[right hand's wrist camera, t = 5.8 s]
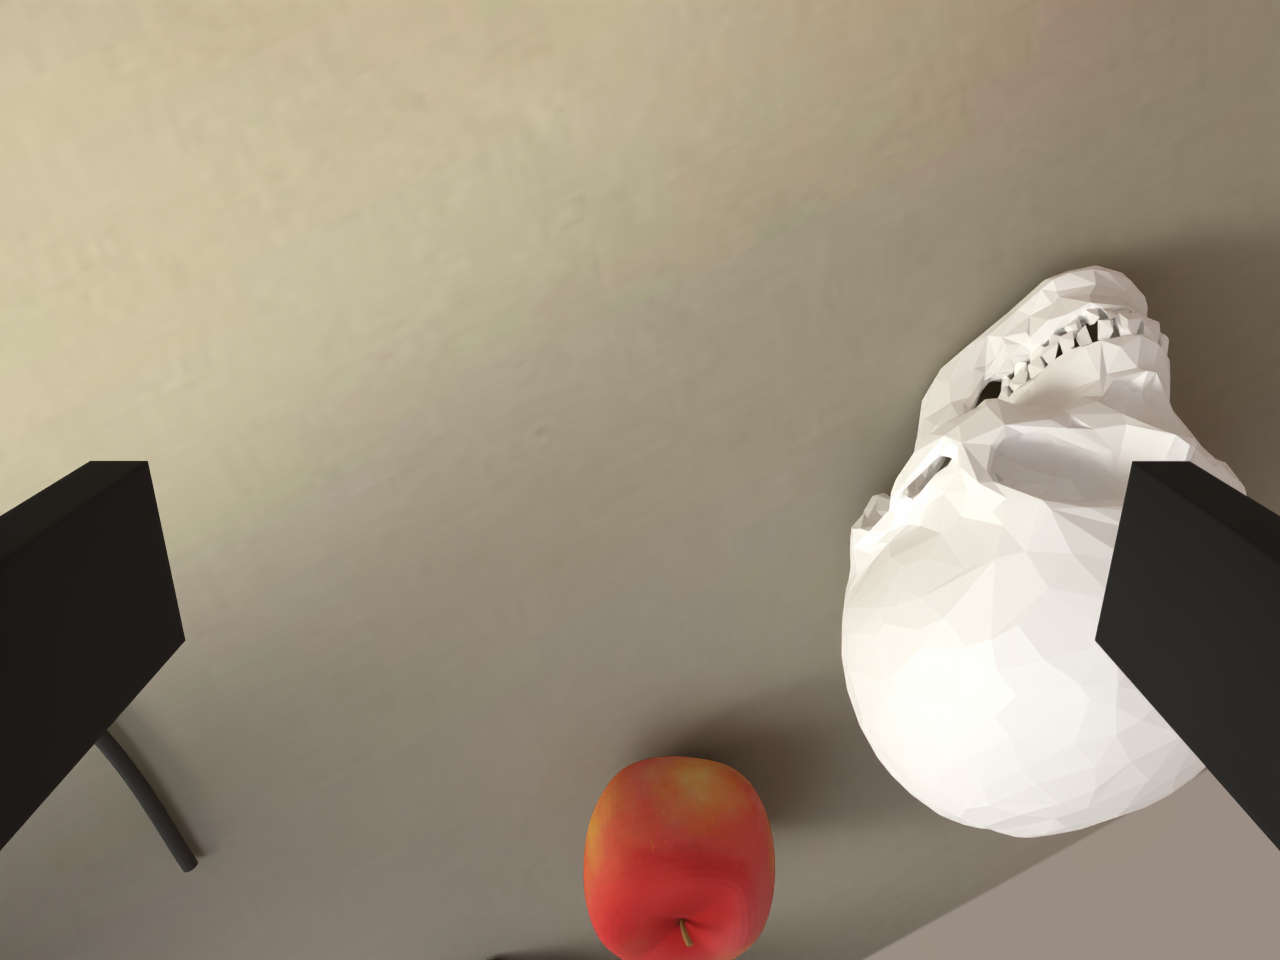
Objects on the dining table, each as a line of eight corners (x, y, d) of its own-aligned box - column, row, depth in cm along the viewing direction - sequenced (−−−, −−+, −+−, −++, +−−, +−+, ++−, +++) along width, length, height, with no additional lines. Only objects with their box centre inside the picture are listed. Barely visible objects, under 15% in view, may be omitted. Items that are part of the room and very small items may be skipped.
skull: (1222, 286, 39) (1557, 382, 24) (1040, 708, 47) (1209, 975, 32) (921, 221, 38) (1076, 279, 24) (788, 659, 46) (842, 907, 32)
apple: (553, 810, 49) (533, 970, 40) (643, 682, 46) (643, 822, 37) (704, 880, 51) (719, 1049, 42) (800, 760, 48) (838, 913, 39)
